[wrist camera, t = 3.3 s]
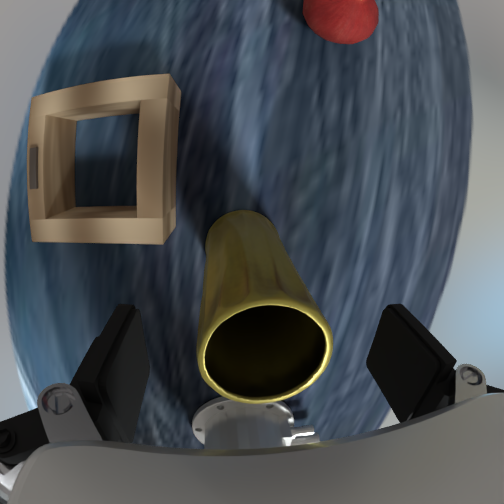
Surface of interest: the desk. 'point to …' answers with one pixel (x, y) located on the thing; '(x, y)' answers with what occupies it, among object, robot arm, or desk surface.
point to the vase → (257, 315)
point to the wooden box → (63, 162)
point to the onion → (341, 19)
